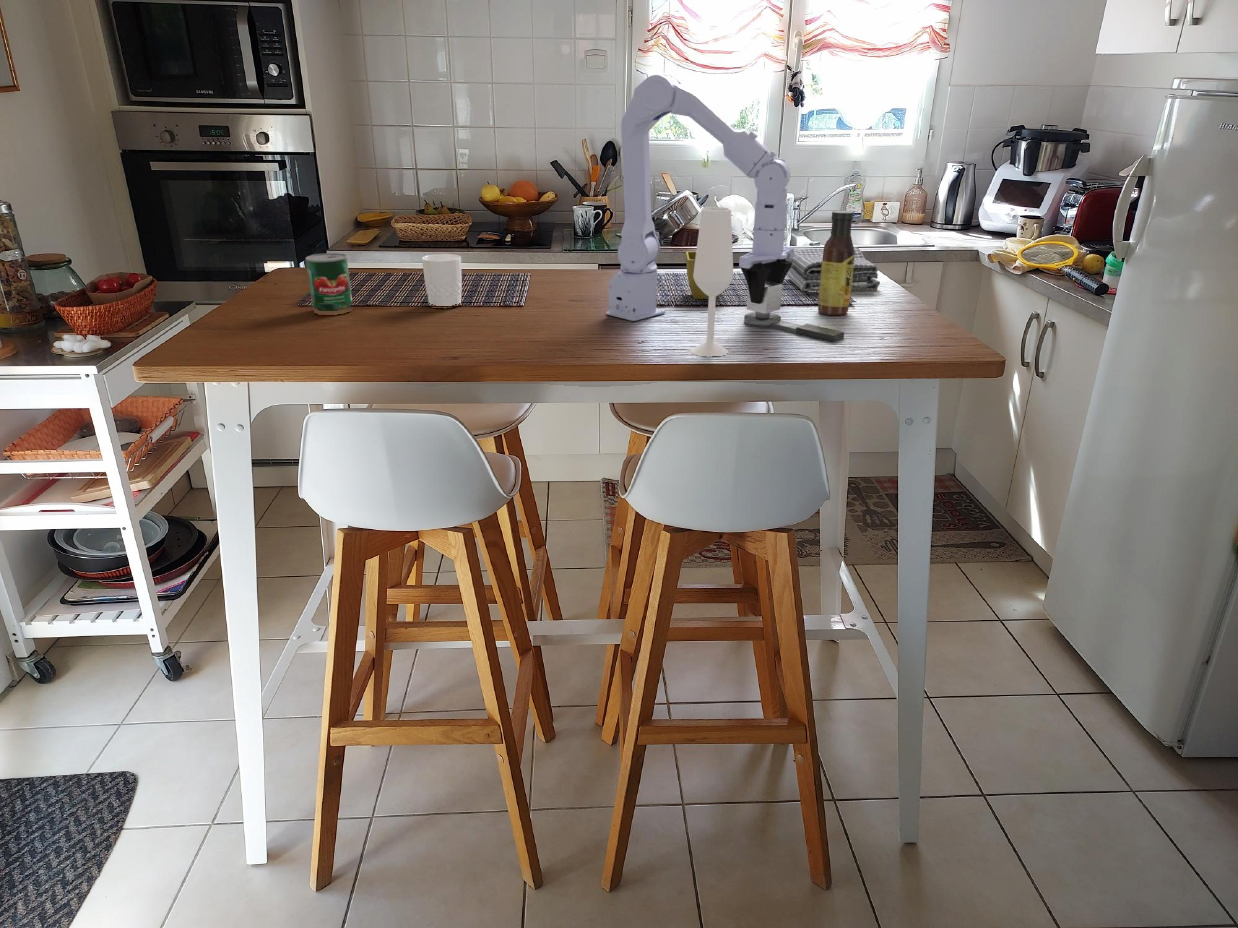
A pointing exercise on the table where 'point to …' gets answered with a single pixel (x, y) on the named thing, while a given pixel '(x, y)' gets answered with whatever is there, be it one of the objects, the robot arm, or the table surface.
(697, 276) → the champagne flute
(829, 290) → the sauce bottle
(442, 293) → the white cup
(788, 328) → the ratchet
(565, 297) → the table surface
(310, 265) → the canned tomato
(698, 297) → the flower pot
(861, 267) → the towel
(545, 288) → the table surface
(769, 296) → the white sugar cube
